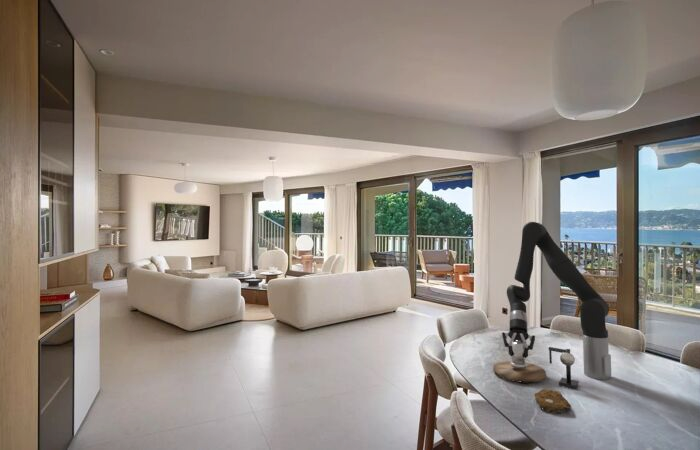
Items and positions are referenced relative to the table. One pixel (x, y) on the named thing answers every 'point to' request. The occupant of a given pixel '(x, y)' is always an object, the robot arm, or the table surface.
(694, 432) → the table surface
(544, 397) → the decorative rock
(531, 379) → the disc
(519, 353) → the cover
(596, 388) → the table surface
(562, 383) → the stand
